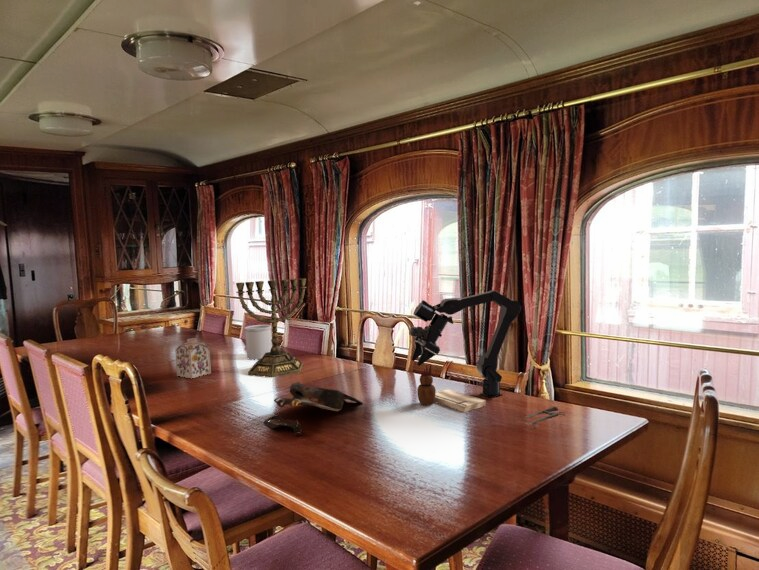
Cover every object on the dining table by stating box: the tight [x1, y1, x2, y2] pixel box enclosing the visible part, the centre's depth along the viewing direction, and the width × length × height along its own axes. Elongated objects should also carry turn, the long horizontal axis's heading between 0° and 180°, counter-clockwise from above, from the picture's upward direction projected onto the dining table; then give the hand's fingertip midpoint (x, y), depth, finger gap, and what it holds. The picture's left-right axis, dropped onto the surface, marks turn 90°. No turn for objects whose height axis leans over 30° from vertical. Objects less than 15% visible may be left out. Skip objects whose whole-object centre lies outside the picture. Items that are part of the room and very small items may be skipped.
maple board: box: [434, 388, 487, 413], centre depth 192 cm, size 11×20×2 cm, turn 36°
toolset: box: [263, 381, 364, 437], centre depth 182 cm, size 40×20×27 cm
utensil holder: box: [243, 324, 273, 360], centre depth 286 cm, size 15×15×18 cm
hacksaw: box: [516, 406, 566, 431], centre depth 172 cm, size 24×10×2 cm, turn 121°
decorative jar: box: [175, 337, 212, 380], centre depth 248 cm, size 12×12×18 cm
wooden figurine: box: [416, 364, 437, 406], centre depth 191 cm, size 7×6×15 cm
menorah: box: [235, 278, 307, 378], centre depth 252 cm, size 36×25×45 cm
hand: (415, 362), depth 196 cm, fingers open, 9 cm apart
